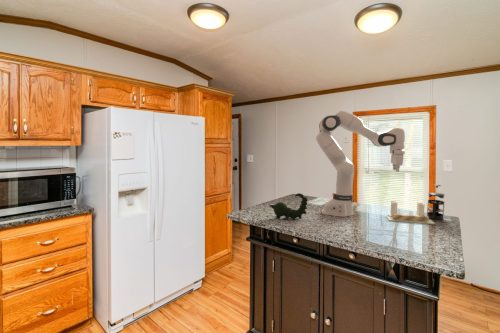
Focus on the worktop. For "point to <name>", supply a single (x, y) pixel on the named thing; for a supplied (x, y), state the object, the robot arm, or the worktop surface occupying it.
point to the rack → (419, 208)
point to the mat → (410, 221)
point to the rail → (411, 217)
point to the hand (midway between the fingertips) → (395, 170)
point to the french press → (436, 206)
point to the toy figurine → (283, 210)
